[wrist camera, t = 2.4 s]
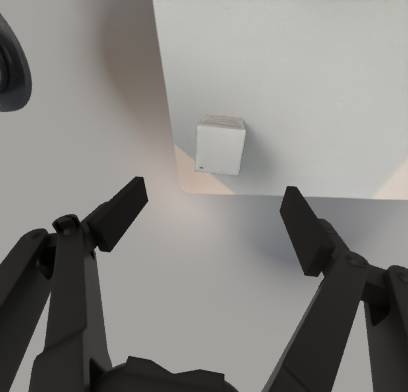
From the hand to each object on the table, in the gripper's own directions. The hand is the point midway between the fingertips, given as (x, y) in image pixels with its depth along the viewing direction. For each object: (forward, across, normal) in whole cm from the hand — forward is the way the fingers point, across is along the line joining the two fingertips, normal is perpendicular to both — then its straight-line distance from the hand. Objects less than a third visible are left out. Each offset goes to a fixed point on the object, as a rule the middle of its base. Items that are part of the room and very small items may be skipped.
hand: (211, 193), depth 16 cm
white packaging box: (+25, 0, 0) cm, 25 cm away
